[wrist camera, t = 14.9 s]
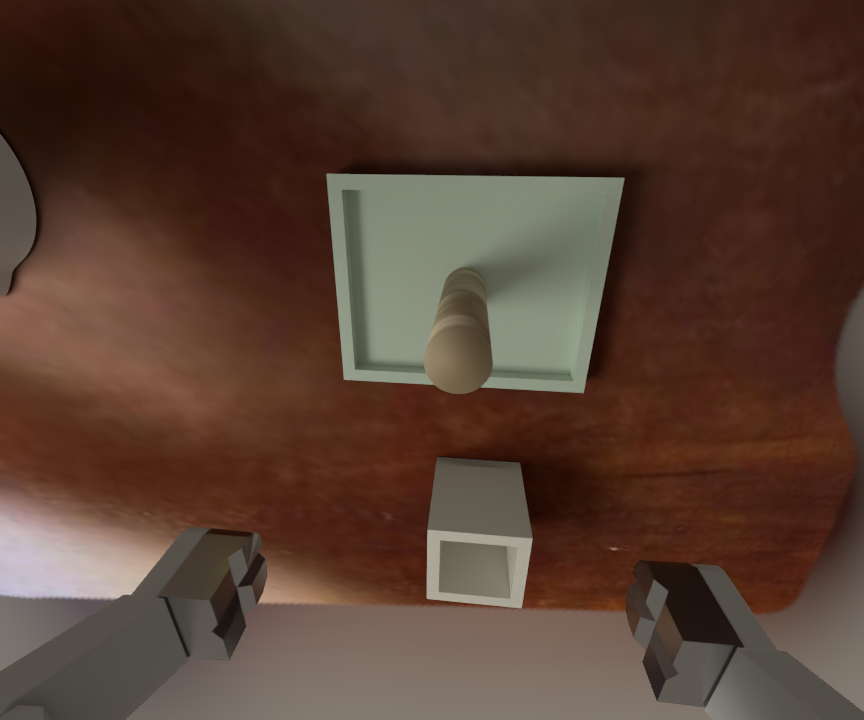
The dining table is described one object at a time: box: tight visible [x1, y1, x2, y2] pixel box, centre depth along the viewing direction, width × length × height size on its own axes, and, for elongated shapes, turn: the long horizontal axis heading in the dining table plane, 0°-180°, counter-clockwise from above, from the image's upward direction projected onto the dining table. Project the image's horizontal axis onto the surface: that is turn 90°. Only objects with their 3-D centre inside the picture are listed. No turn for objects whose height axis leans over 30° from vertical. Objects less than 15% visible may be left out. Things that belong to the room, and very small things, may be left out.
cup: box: [427, 457, 532, 608], centre depth 36 cm, size 8×8×9 cm
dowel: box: [424, 268, 493, 394], centre depth 25 cm, size 3×3×14 cm
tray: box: [326, 174, 625, 393], centre depth 31 cm, size 20×16×2 cm
